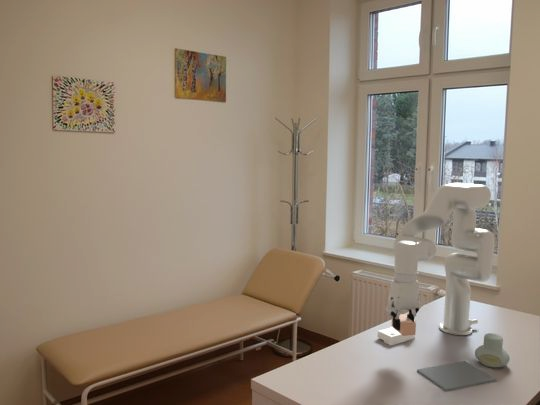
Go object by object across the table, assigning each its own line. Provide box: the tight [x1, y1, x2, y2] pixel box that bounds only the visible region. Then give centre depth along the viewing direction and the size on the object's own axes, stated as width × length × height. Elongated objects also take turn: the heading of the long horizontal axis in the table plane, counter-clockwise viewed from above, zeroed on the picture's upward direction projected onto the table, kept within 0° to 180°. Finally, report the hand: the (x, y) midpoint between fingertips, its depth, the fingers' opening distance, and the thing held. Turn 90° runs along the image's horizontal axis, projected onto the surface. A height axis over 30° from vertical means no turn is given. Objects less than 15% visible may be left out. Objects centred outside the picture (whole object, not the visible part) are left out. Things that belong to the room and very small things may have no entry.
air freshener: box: [474, 333, 511, 369], centre depth 171 cm, size 11×8×10 cm
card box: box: [391, 313, 417, 336], centre depth 173 cm, size 4×9×4 cm, turn 11°
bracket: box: [377, 319, 417, 346], centre depth 192 cm, size 13×7×8 cm, turn 123°
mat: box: [416, 360, 497, 392], centre depth 163 cm, size 20×14×1 cm
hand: (403, 327), depth 173 cm, fingers closed on card box, 5 cm apart
